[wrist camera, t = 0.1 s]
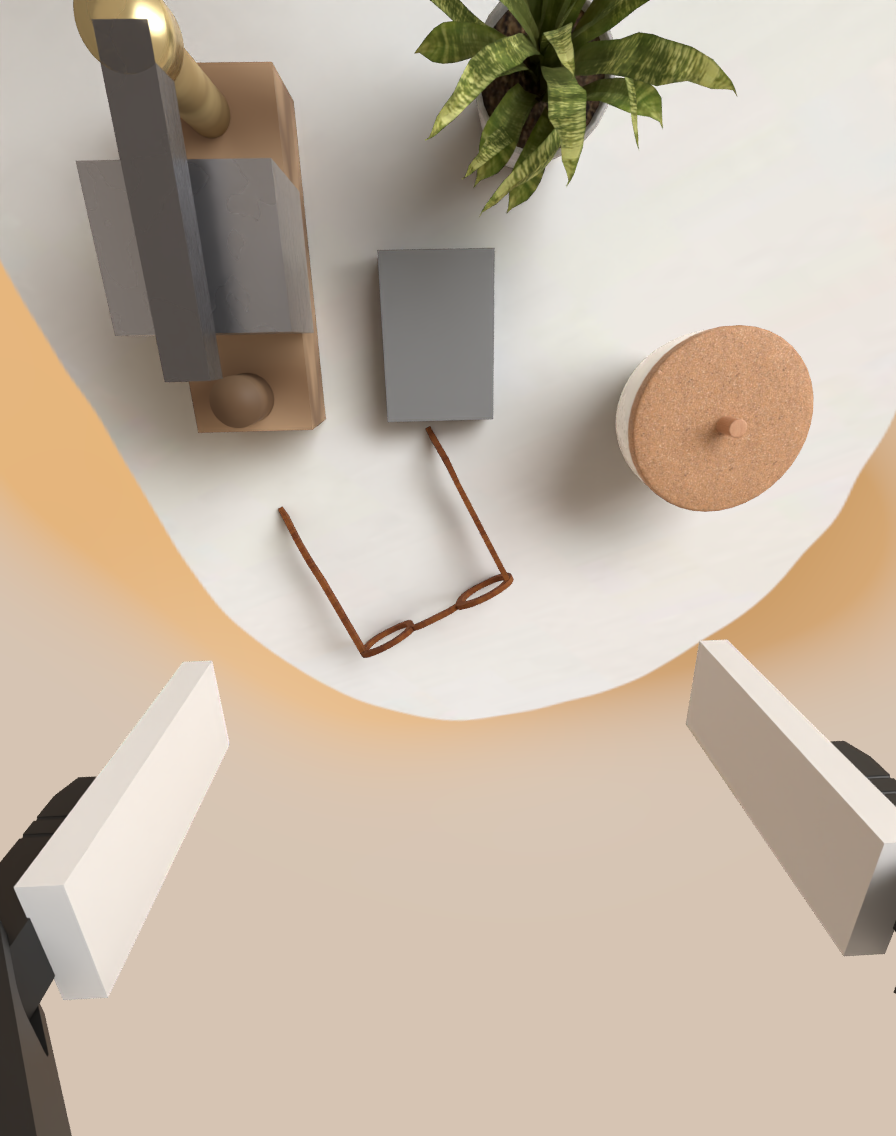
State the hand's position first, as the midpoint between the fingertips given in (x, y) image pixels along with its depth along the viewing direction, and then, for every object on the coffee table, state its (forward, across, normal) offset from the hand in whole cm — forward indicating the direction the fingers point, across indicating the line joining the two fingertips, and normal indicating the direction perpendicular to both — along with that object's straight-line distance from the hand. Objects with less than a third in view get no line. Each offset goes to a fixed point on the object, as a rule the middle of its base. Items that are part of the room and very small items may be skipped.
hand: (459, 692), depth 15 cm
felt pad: (+28, 0, +9) cm, 29 cm away
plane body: (+28, -11, +13) cm, 33 cm away
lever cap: (+23, -11, +13) cm, 29 cm away
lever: (+16, -11, +15) cm, 24 cm away
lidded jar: (+28, +17, +4) cm, 33 cm away
